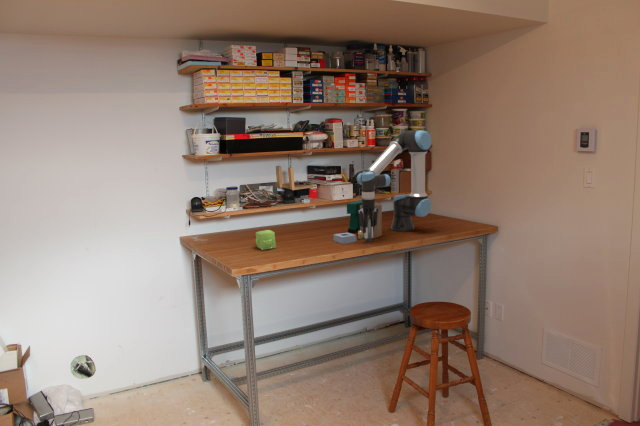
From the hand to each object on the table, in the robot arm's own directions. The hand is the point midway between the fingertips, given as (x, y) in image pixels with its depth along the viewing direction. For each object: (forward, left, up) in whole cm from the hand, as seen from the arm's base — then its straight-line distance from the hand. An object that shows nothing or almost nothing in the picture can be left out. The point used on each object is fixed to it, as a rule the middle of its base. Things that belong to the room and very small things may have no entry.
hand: (368, 237), depth 309 cm
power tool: (-16, -30, -3) cm, 34 cm away
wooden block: (-10, -12, -3) cm, 16 cm away
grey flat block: (+11, -9, -3) cm, 14 cm away
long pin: (0, 0, -3) cm, 3 cm away
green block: (+58, -22, -3) cm, 62 cm away
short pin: (-1, -10, -3) cm, 10 cm away
